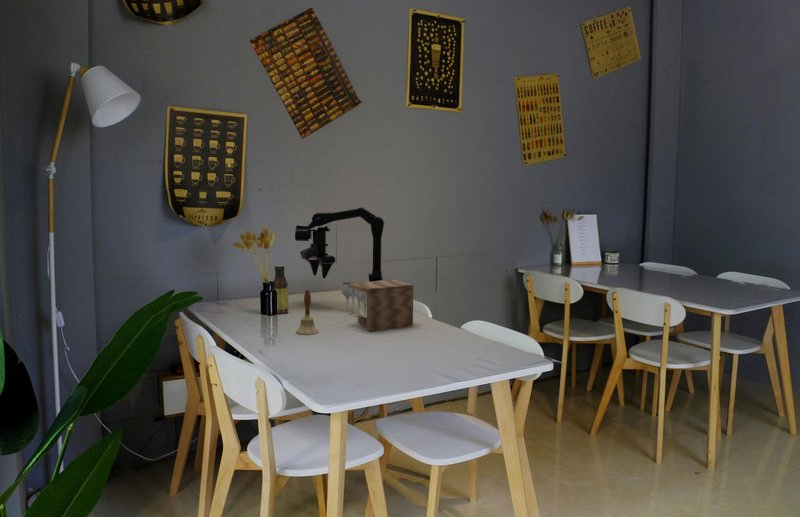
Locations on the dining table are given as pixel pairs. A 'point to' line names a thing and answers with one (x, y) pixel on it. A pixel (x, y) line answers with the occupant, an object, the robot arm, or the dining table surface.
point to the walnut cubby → (386, 304)
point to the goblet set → (353, 292)
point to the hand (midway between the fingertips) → (319, 276)
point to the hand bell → (307, 318)
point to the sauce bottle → (281, 289)
